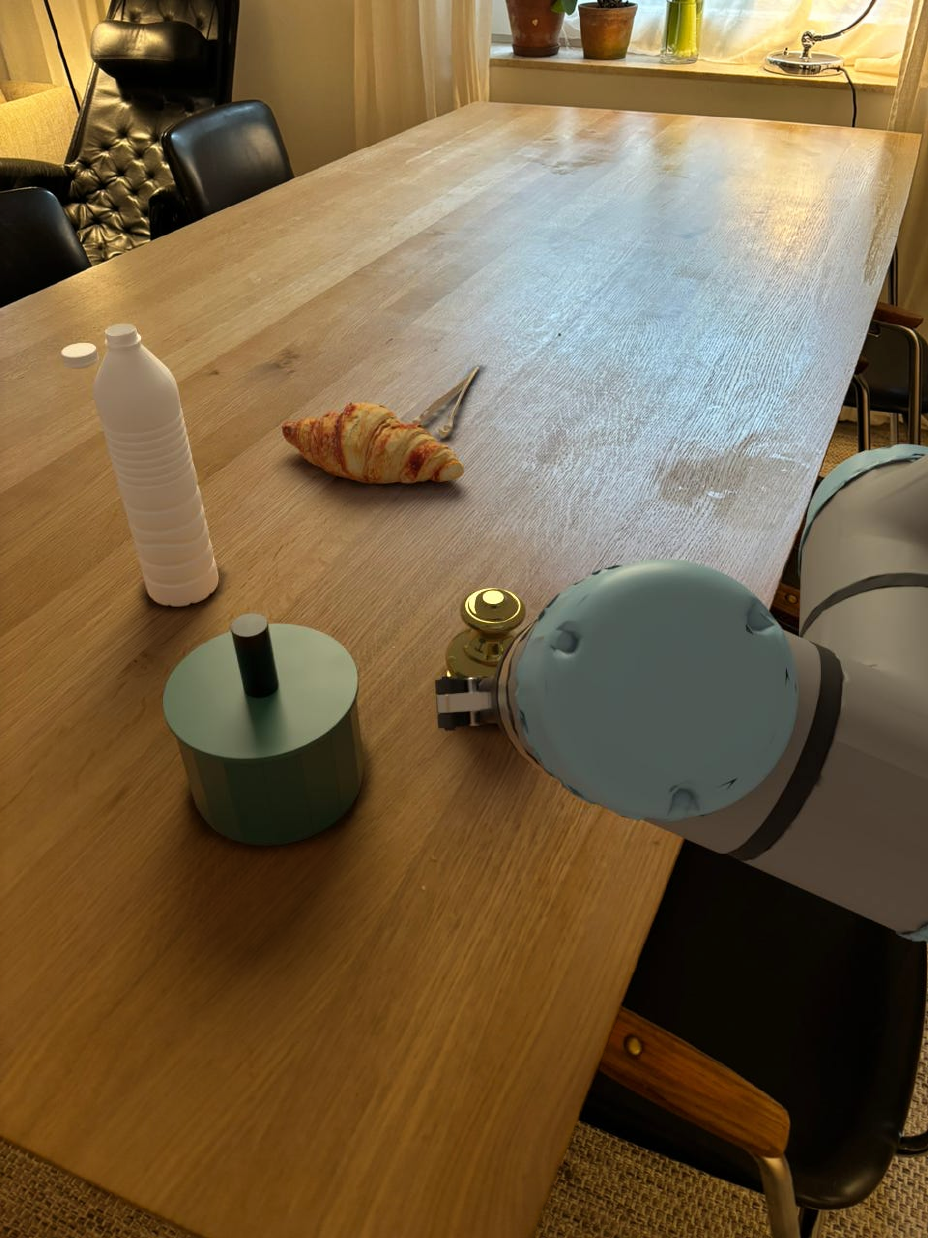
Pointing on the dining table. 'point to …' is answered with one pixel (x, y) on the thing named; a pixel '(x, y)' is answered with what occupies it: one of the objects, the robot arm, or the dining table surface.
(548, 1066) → the dining table surface
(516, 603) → the brass calibration weight
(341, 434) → the croissant
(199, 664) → the pot lid
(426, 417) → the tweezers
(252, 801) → the pot
